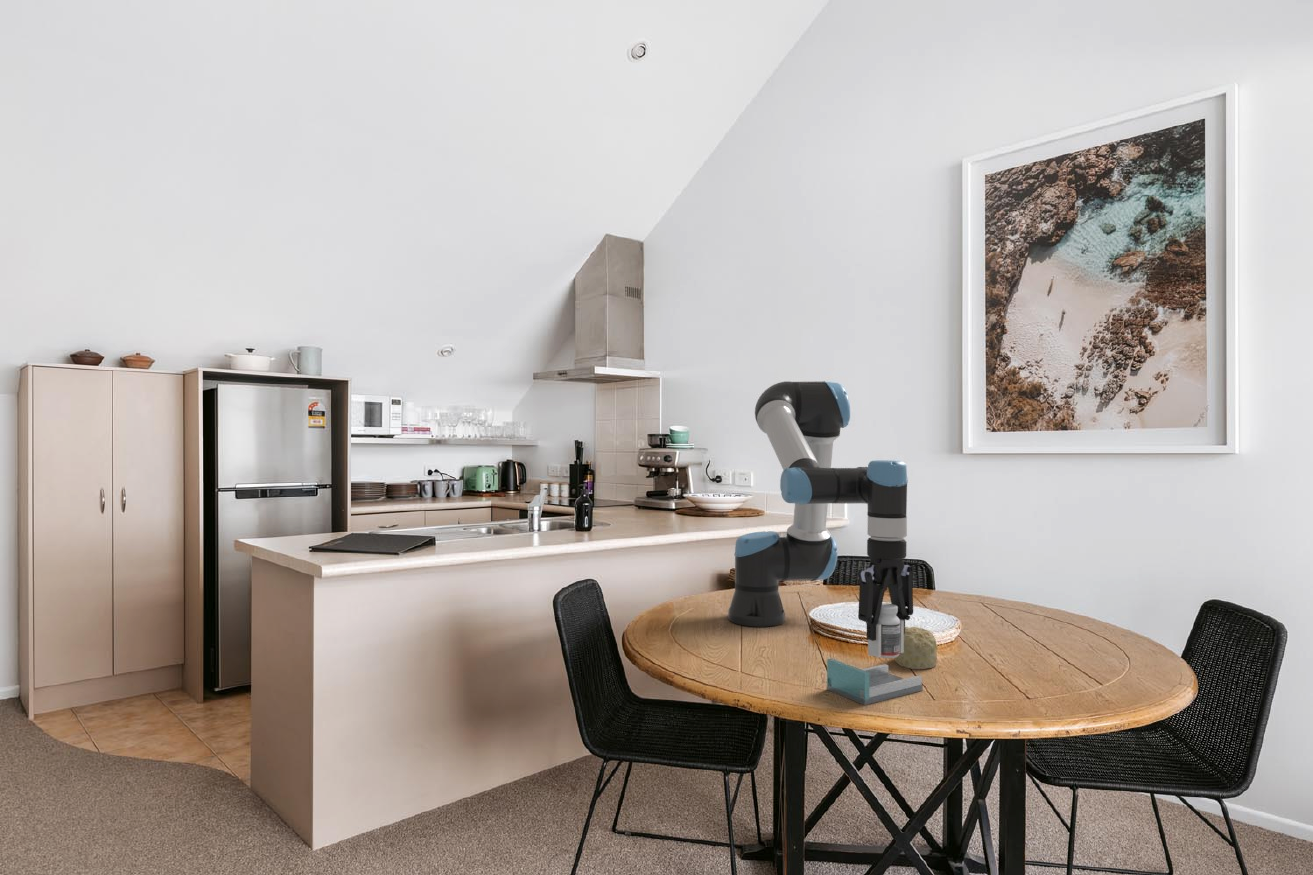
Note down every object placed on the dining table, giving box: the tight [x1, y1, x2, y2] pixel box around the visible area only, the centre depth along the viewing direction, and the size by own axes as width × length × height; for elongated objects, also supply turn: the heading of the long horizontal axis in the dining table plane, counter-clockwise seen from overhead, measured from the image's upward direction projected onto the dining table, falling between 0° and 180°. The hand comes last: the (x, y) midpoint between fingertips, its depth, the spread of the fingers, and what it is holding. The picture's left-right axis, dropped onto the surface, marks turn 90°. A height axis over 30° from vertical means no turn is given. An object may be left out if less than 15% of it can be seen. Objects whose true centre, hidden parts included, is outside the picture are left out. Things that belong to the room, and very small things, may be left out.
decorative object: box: [894, 626, 938, 670], centre depth 169 cm, size 9×10×10 cm
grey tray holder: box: [826, 658, 924, 706], centre depth 152 cm, size 16×10×6 cm, turn 121°
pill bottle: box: [872, 602, 900, 659], centre depth 153 cm, size 6×6×10 cm
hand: (885, 653), depth 153 cm, fingers closed on pill bottle, 6 cm apart
